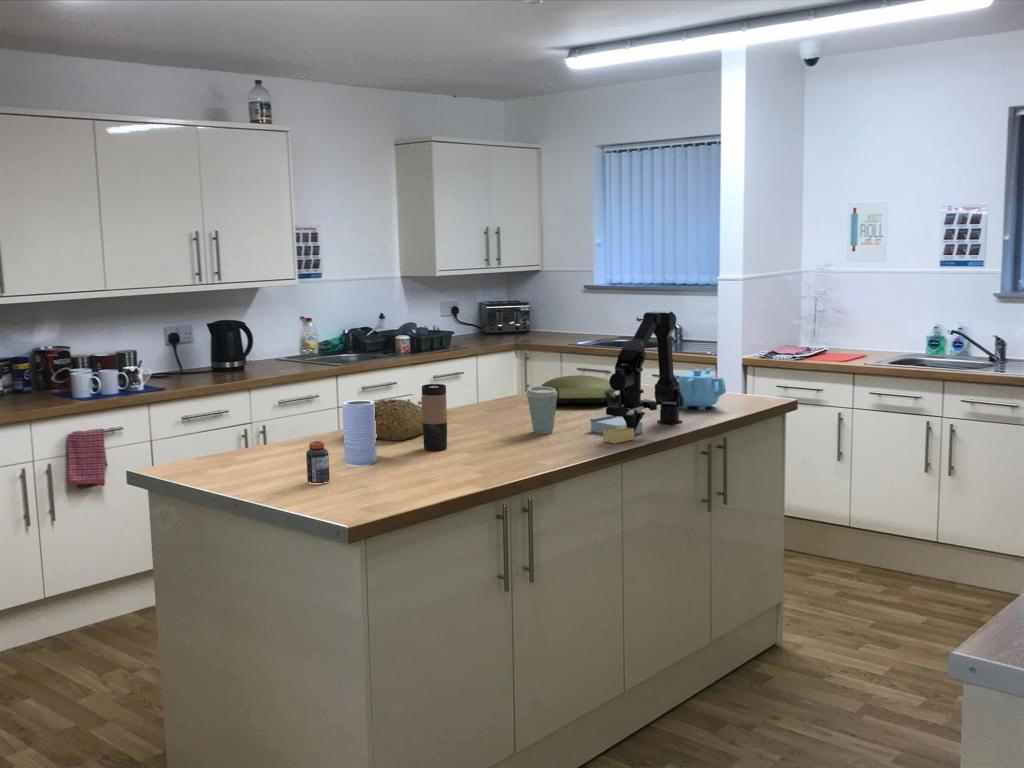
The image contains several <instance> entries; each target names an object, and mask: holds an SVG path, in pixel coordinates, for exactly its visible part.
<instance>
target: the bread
mask: <svg viewBox="0 0 1024 768" xmlns="http://www.w3.org/2000/svg"><path fill="white" fill-rule="evenodd" d="M373 403H374V404H375V421H376V434H377V440H384V441H394V442H395V441H397V442H398V441H399V442H400V441H406V440H408V439H412V438H416V437H417V436H420V435H421V434H422V435H423V424H422V423H423V422H422V406H419V405H417V404H415V403H414V402H411V400H404V399H395V398H394V399H391V398H390V399H387V400H385V399H382V400H378V401H374V402H373Z"/></svg>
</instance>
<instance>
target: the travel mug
mask: <svg viewBox="0 0 1024 768" xmlns="http://www.w3.org/2000/svg"><path fill="white" fill-rule="evenodd" d="M421 404H422V405H421V408H422V422H423V423H422V424H423V433H422V436H423V437H422V439H423V449H424V451H426V452H442V451H443V452H444V451H446V450H447V449H448V448H447V447H448V413H447V412H448V410H447V409H448V408H447V406H448V405H447V386H446V385H445V384H442V383H428V384H423V385H421Z"/></svg>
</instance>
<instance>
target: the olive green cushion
mask: <svg viewBox="0 0 1024 768" xmlns="http://www.w3.org/2000/svg"><path fill="white" fill-rule="evenodd" d="M540 386H544V387H550V388H553V389H555V390H556V391H557V394H558V395H557V402H558V403H559V404H563V403H564V404H567V403H568V404H571V403H573V404H575V403H576V404H578V403H605V401H606V395H607V394H610V393H613V394H614V395H617V394H616V392H617V391H616V390H614V389H612V388H611V386H610V383H609V380H608V379H606V378H604V377H599V376H592V375H580V374H579V375H565V376H560V377H556V378H552V379H549V380H547V381H545V382H543V384H541V385H540ZM607 405H608V406H611V405H610V404H607ZM620 406H623V405H620Z"/></svg>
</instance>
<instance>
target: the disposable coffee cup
mask: <svg viewBox="0 0 1024 768" xmlns="http://www.w3.org/2000/svg"><path fill="white" fill-rule="evenodd" d="M557 395H558V394H557V391H556V390H555V389H553V388H550V387H544V386H541V385H540V386H539V385H537V386H531V387H529V388H527V391H526V395H525V396H526V397H527V401H528V408H529V414H530V419H531V424H532V431H533V433H534V434H536V435H537V434H538V435H547V434H551V433H553V430H554V428H555V427H554V425H555V417H556V409H557V402H558V399H557Z"/></svg>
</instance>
